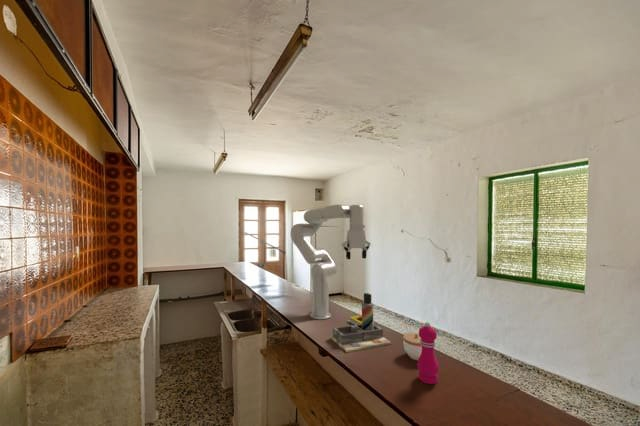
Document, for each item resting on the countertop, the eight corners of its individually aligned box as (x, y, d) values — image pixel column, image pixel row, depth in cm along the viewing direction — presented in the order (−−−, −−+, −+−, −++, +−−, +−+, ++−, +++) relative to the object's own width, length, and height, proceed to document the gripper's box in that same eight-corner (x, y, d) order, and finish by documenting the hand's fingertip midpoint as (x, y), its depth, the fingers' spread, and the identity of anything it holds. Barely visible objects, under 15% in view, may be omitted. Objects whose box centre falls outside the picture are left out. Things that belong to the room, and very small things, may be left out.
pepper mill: (437, 387, 94) (436, 327, 95) (415, 381, 98) (414, 323, 99) (440, 377, 100) (439, 321, 101) (419, 371, 104) (419, 317, 105)
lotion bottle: (360, 332, 139) (360, 292, 140) (371, 332, 139) (371, 291, 140) (363, 337, 133) (363, 294, 134) (375, 336, 134) (374, 294, 135)
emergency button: (362, 321, 146) (346, 313, 159) (362, 330, 146) (346, 321, 159) (376, 319, 150) (360, 311, 164) (376, 327, 150) (360, 319, 163)
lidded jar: (435, 358, 115) (435, 334, 115) (420, 365, 108) (420, 341, 109) (413, 348, 123) (412, 327, 124) (397, 355, 117) (397, 332, 117)
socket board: (331, 338, 134) (331, 327, 134) (371, 331, 143) (371, 321, 143) (346, 352, 119) (346, 340, 120) (391, 344, 128) (391, 333, 128)
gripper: (366, 227, 160) (366, 257, 159) (339, 227, 153) (339, 258, 152) (373, 227, 153) (373, 258, 152) (345, 227, 146) (345, 260, 145)
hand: (356, 258), depth 152 cm, fingers open, 9 cm apart
